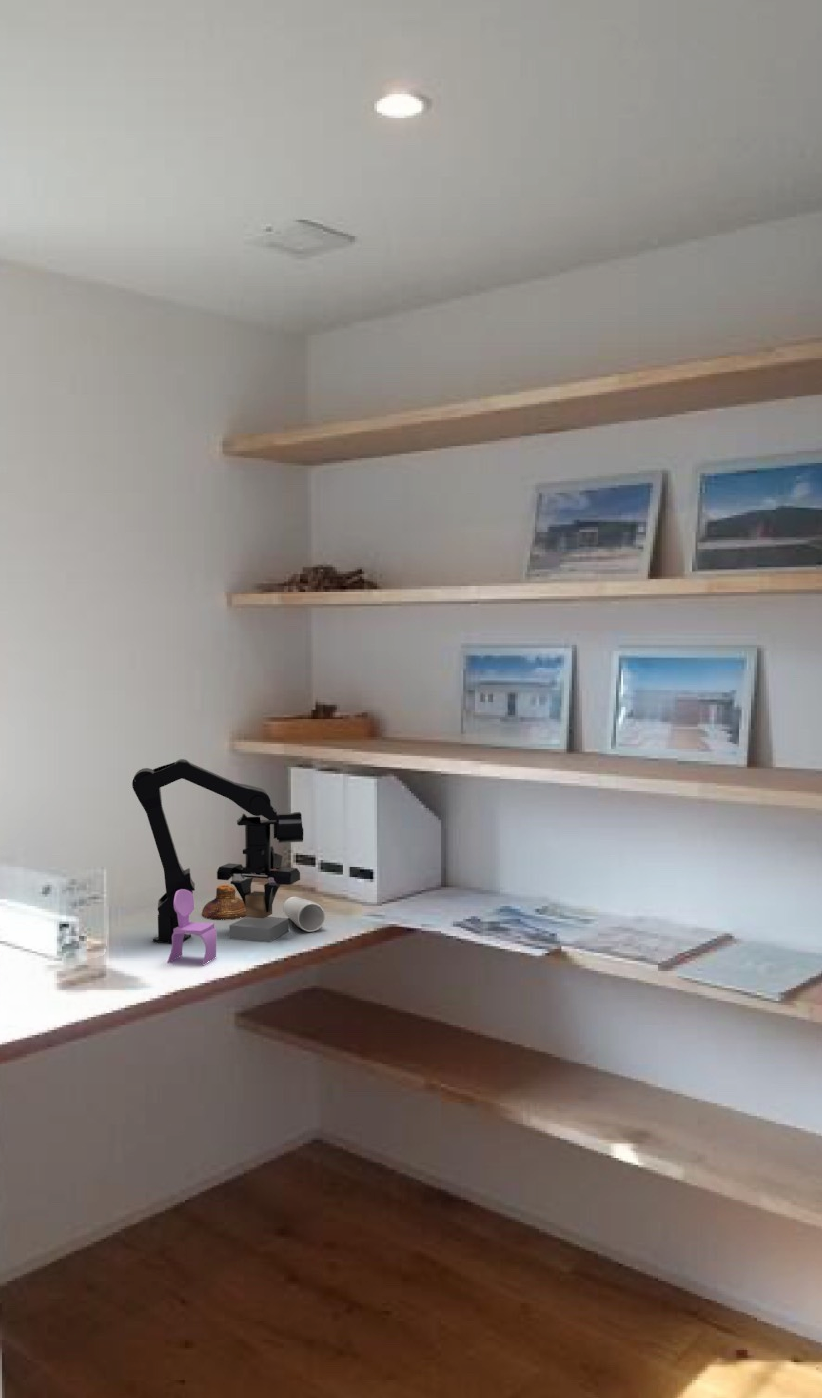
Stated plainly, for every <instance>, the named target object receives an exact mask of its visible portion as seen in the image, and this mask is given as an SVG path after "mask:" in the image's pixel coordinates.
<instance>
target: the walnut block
mask: <svg viewBox="0 0 822 1398" xmlns="http://www.w3.org/2000/svg"><path fill="white" fill-rule="evenodd" d="M245 904H246V917H252V918H265V917H270V916H271V915H273V906H272V907H271V910H270V912H266V906H265V891H257V890H254V891H251V893H249V894H247V895H245Z"/></svg>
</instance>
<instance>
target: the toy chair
mask: <svg viewBox="0 0 822 1398" xmlns="http://www.w3.org/2000/svg"><path fill="white" fill-rule="evenodd" d="M174 910H175V911H176V913H177V917H178V924H179V927H176V928H174V933H173V934H172V943H171V949H170V952H169V956H168V960H167V962H166V963H167V964H169V962H170V963H171V962H173V961H175V960H176V959H175V958H177V957H178V958H180V957H182V956H183V945H184V944H183V943H184V940H183V939H184V935H185V934H191V935H192V936H193V935H195V936H199V937H201V939H202V940H203V941H202V942H203V945H204V947H205V951H204V957H203V961H202V963H201V965H202V964H205V963H207V962H208V961H210V960H211V961H213V960H214V959H213V958H215V957H216V958H217V935H218V933H217V929H216V927H215V923H212V922H196V921H195V922H194V921H189V920H190V919H189V917H190V915H191V913H192V912H194V910H195V901H194V893H193V894H192V893H191V892H190V891H188V890H185V889H181V890H178V891H176V893H175V897H174ZM181 955H182V956H181ZM179 956H180V957H179ZM178 958H177V959H178ZM216 958H215V959H216ZM174 959H175V960H174ZM212 959H213V960H212ZM172 960H173V961H172ZM211 961H210V962H211ZM208 963H209V962H208ZM208 963H207V964H208ZM205 965H206V964H205Z"/></svg>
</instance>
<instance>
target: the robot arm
mask: <svg viewBox="0 0 822 1398" xmlns="http://www.w3.org/2000/svg"><path fill="white" fill-rule="evenodd" d="M133 776H134V777H133V779H132V783H131V785H132V786H131V787H132V790H133V792H134V794H135V795H136V797H137V799H138V801H139V803H140V805H141V806H142V808H143V810H144V811H145V813H146V816H147V819H148V823H149V826H150V829H151V832H152V836H153V838H154V842H155V845H156V848H157V852H158V856H159V858H160V863H161V865H162V868H163V874H164V885H165V891H166V892H165V893H164V894H163V895H162V896H161V897H160V898H159V899H158V901H157V912H158V914H157V931H158V932H157V934H158V936H155V937H154V938H152V942H156V943H157V942H158V943H168V944H172V934H173V933H174V928H176V927H179V924H178V917H177V913H176V911H175V910H174V897H175V893H176V891H178V890H181V889H185V890H188V891H190V892H191V893H192V894H193V895H194V893H193V892H195V889H196V888H195V885H196V883H195V882H194V881H193V879H192V877H191V869H190V867H189V868H186V869H184V868H183V866H182V864H181V863H180V861H179V857H178V854H177V850H176V848H175V843H174V841H173V838H172V837H173V836H172V834H171V830H170V827H169V824H168V821H167V818H166V813H165V810H164V807H163V802H162V801H163V800H162V791H161V788H162V787H165V786H167V785H170V784H171V783H174V782H176V781H178V780H181V779H183V780H186V781H187V782H190V783H192V784H194V785H197V786H200V787H201V788H203V789H207V790H208V791H211V792H213V793H216V794H217V795H220V796H222V797H223V798H224V797H225V798H227V799H228V800H230V801H232V802H233V803H234V804H236V805H237V806H238V807H239V808H241V809H243V810H244V811H245V812H247V813H249V814H250V815H252V816H247V815H246V814H245V813H242V815H241V816H240V817H239V818H238V819H237V820H236V824H237V825H238V826H244V834H245V835H244V839H245V840H244V842H245V843H244V844H245V846H244V847H245V848H243V849H242V855H245V857H244V858H245V866H243V864H241V863H230V862H229V863H226V864H223V865H221V866H219V867H218V869H217V871H216V879H217V880H218V881H230V879H231V881H230V885H233V887H234V889H235V890H236V891H237V892H238V894H239V896H240V897H241V898H240V899H241V900H243V902H244V904H245V895H247V894H249V893H252V883H253V882H252V881H253V879H254V878H255V879H268V882H267V883H265V884H264V885H263V886H264V888H263V889H264V891H263V892H265V906H266V912H270V910H271V907H272V908H273V904H274V900H275V897H276V895H277V893H278V890H279V888H280V887H281V886H282V885H286V886H288V885H292V884H294V883H296V882H299V881H300V880H301V871H300V870H299V869H298V868H297V867H288V866H287V867H286V866H284V867H282V865H283V863H282V862H283V855H281V854H278V853H275V851H274V846H271V825H272V837H273V839H275V840H277V842H278V843H279V844H281V843H303V841H304V827H303V819H302V817H303V816H302V812H300V811H298V812H297V811H296V812H295V811H294V812H291V813H290V812H289V813H284V812H283V813H278V811H277V809H276V808H274V807H273V806H272V804H271V798H270V796H269V794H268V792H267V791H266V790H265V789H264V788H262V787H259V786H258V787H257V786H253V785H249V784H245V783H238V782H236V781H233V780H230V779H228V778H226V777H223V776H221V775H220V774H217V773H214V772H212V771H210V770H207V769H205V768H203V767H201V766H198V765H197V764H194V763H191V762H190V761H189V760H187V759H184V758H182V759H181V758H180V759H178V760H176V761H174V762H172V763H167V764H165V765H161V766H158V767H155V768H153V769H152V768H148V767H145V768H143V767H142V768H141V769H139V770H137V772H135V775H133ZM261 816H262V817H264V818H266V819H267V820H266V819H261ZM275 869H276V870H275ZM245 906H246V904H245ZM191 937H192V934H185V935H184V939H183V941H185V940H187V939H189V938H191Z"/></svg>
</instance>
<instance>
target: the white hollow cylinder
mask: <svg viewBox="0 0 822 1398" xmlns="http://www.w3.org/2000/svg"><path fill="white" fill-rule="evenodd" d="M282 908H283V914H284V915H285V916H286V918H289V919H290V920H291V921H292V922H293V923H294V925H295V926H296V927H298V928H299V929H301V930H303V931H305V932H308V933H311V932H316V931H318V930H320V929H321V928H322V926H323V925H324V923H325V919H326V913H325V910H324V909H323V907H322V906H321V905H319V904H318V903H317V902H315V901H313V900H309V899H306V898H305V899H304V898H301V897H298V896H291V897H289V898H286V900H285V902H284V904H283V906H282Z"/></svg>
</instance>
